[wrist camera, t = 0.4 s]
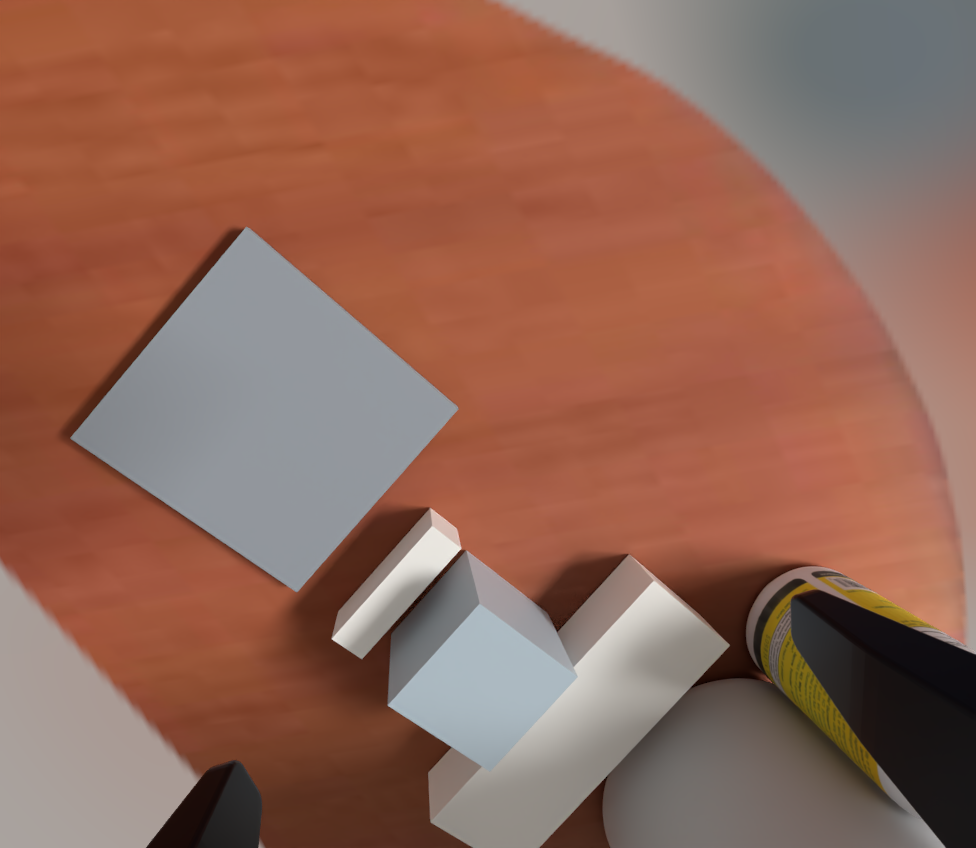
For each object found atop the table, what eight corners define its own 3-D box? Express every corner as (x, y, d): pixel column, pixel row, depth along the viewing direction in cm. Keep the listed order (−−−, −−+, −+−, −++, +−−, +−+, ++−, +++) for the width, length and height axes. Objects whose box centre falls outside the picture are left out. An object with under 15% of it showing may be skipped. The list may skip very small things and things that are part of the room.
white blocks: (505, 821, 26) (515, 873, 23) (278, 678, 23) (262, 722, 20) (699, 613, 25) (730, 645, 23) (492, 436, 22) (503, 451, 19)
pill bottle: (750, 691, 27) (982, 943, 16) (730, 586, 25) (969, 784, 14) (860, 650, 27) (1155, 867, 16) (846, 544, 26) (1160, 707, 15)
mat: (299, 585, 22) (296, 592, 21) (80, 434, 20) (70, 438, 19) (457, 406, 21) (458, 408, 21) (251, 229, 19) (246, 226, 18)
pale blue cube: (475, 690, 24) (489, 771, 20) (391, 632, 23) (387, 705, 19) (547, 611, 24) (577, 676, 20) (466, 549, 23) (479, 603, 19)
